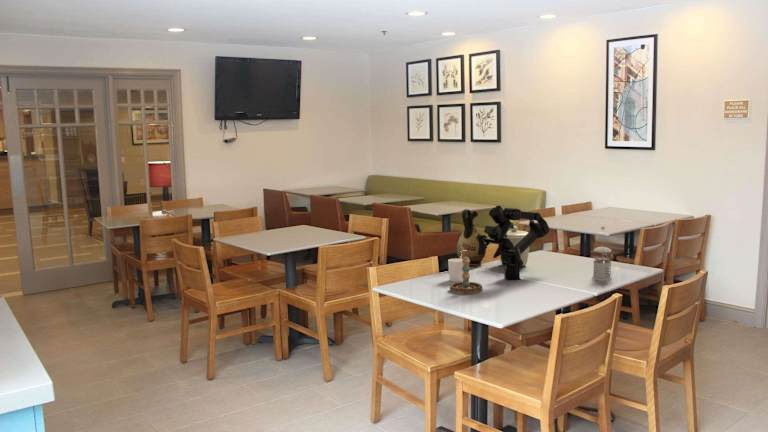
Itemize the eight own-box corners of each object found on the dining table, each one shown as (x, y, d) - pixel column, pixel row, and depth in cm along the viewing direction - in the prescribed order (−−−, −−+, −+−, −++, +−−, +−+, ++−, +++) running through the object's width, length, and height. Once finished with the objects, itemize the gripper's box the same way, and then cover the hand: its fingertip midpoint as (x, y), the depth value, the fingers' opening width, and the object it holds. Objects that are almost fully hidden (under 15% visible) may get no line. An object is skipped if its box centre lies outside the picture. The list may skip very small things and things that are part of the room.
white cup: (464, 282, 316) (464, 261, 314) (447, 282, 317) (447, 261, 316) (465, 278, 323) (465, 258, 322) (449, 278, 325) (449, 258, 324)
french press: (589, 279, 316) (590, 227, 312) (593, 274, 326) (594, 224, 323) (610, 281, 311) (612, 228, 308) (615, 276, 321) (616, 225, 318)
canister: (494, 268, 346) (494, 228, 343) (498, 261, 363) (498, 223, 360) (530, 269, 340) (530, 228, 338) (532, 262, 358) (533, 223, 355)
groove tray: (478, 286, 308) (478, 281, 307) (485, 293, 293) (485, 288, 293) (447, 287, 307) (447, 282, 307) (452, 294, 293) (452, 289, 293)
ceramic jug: (466, 260, 368) (466, 206, 364) (491, 263, 358) (491, 208, 354) (449, 265, 355) (448, 209, 351) (474, 269, 345) (474, 211, 341)
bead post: (471, 287, 301) (471, 256, 300) (469, 289, 298) (469, 258, 296) (462, 287, 303) (462, 256, 301) (460, 289, 299) (460, 258, 297)
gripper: (478, 217, 316) (462, 243, 310) (509, 221, 302) (493, 248, 296) (489, 232, 322) (474, 257, 316) (520, 236, 308) (505, 263, 302)
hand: (486, 256), depth 307 cm, fingers open, 9 cm apart
